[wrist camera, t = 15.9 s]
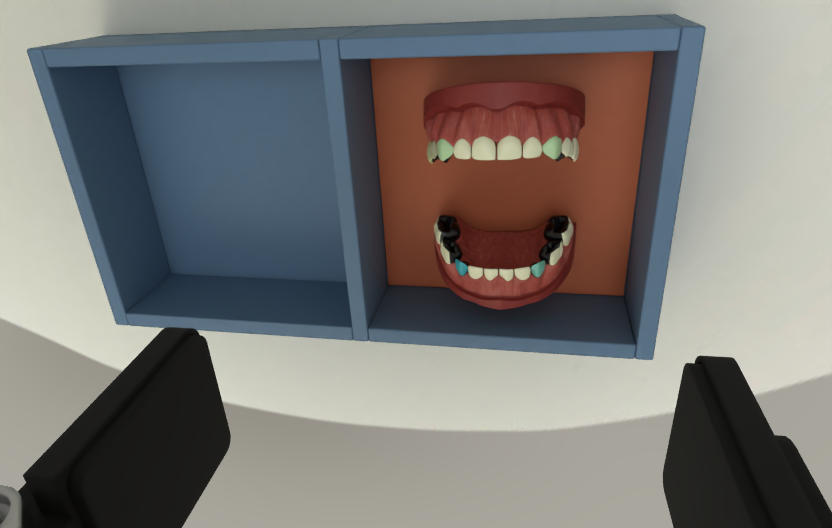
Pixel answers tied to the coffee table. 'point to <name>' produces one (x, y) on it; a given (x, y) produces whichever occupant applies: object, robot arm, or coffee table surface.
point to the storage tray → (369, 177)
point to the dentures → (515, 136)
